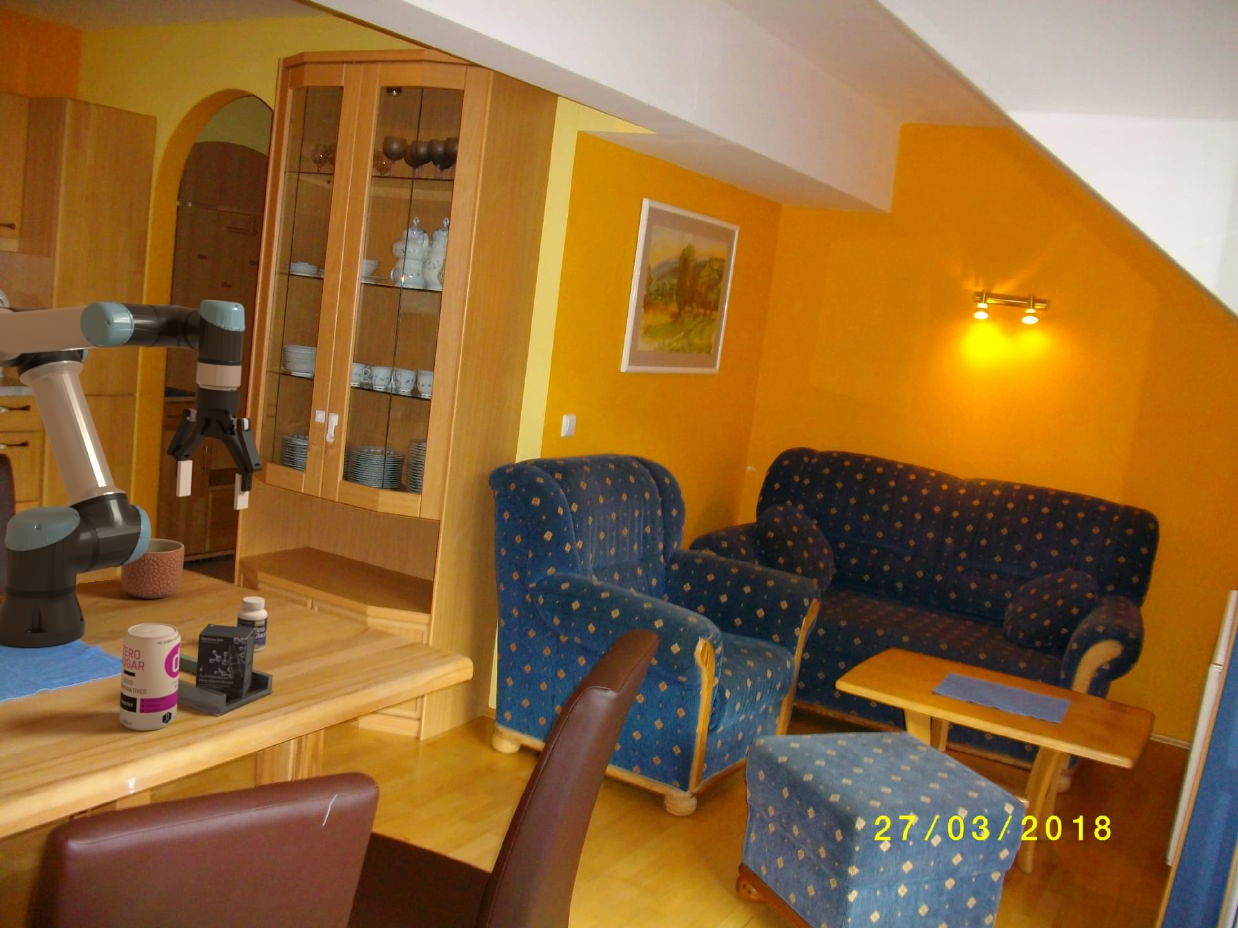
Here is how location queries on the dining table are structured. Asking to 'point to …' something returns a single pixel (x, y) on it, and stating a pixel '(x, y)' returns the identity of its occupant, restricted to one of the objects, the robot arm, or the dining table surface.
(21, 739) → the dining table surface
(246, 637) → the box
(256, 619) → the pill bottle
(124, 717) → the supplement can
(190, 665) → the green bar
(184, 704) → the keeper
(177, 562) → the planter
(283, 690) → the dining table surface
